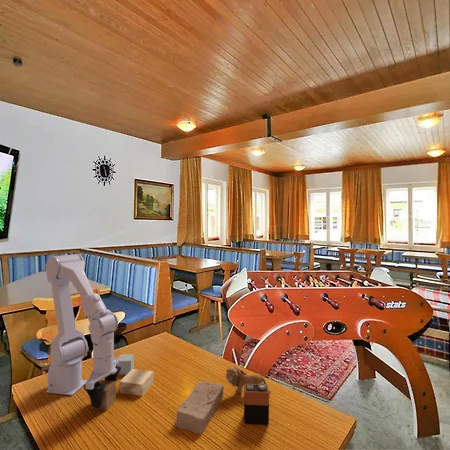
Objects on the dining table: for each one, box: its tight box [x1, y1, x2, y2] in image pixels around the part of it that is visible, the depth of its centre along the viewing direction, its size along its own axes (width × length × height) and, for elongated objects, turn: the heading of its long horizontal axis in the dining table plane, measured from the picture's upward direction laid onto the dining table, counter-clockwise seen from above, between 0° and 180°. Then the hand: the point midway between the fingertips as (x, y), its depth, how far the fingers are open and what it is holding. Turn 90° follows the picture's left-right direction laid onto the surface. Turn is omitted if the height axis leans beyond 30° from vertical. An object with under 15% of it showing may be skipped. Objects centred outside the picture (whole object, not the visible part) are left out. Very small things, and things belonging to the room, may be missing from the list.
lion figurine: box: [225, 366, 272, 398], centre depth 92 cm, size 15×5×9 cm, turn 94°
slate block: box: [117, 353, 135, 376], centre depth 106 cm, size 5×5×5 cm
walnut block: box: [90, 379, 117, 412], centre depth 87 cm, size 5×5×6 cm
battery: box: [243, 382, 270, 426], centre depth 81 cm, size 4×7×10 cm, turn 87°
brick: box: [175, 380, 224, 435], centre depth 84 cm, size 17×8×5 cm, turn 160°
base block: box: [119, 368, 155, 397], centre depth 96 cm, size 8×8×4 cm
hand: (103, 399), depth 87 cm, fingers open, 7 cm apart
